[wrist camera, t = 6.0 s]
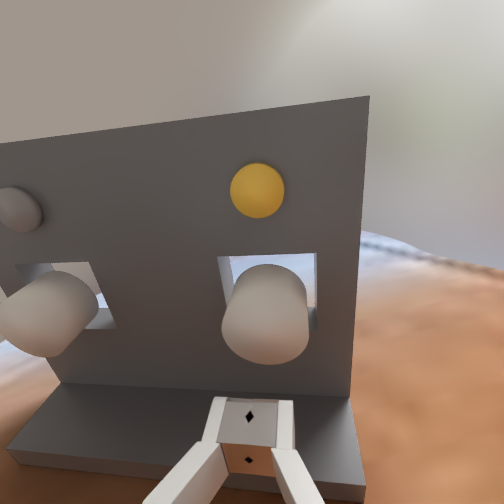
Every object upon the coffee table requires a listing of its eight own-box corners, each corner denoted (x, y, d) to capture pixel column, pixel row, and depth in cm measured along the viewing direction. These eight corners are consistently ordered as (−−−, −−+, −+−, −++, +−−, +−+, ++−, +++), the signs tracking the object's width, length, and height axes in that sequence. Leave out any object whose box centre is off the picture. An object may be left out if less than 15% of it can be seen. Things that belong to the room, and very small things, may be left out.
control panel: (363, 503, 16) (421, 87, 7) (19, 464, 20) (-244, 174, 11) (343, 382, 23) (356, 97, 14) (89, 372, 27) (-33, 147, 18)
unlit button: (76, 358, 17) (44, 300, 15) (16, 356, 18) (-22, 301, 16) (107, 322, 20) (83, 269, 18) (54, 322, 21) (26, 271, 19)
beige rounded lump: (309, 366, 15) (307, 297, 13) (228, 363, 15) (214, 299, 13) (307, 323, 17) (305, 263, 15) (238, 323, 18) (228, 265, 16)
